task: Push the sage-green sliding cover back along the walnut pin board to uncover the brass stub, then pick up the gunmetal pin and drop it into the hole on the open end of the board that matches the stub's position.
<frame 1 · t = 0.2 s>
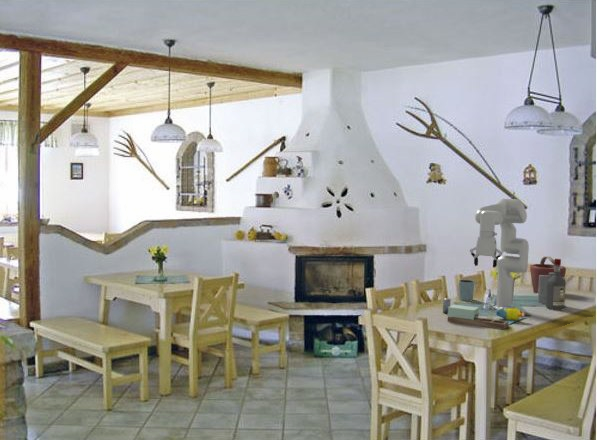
hand: (485, 266, 364), 30 cm above the table, tool pointing down, fingers open, 9 cm apart
liquor: (555, 309, 410), on the table
pin board: (477, 323, 363), on the table
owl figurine: (510, 321, 373), on the table
cover: (463, 312, 367), point 5 cm above the table, slide at 0.0 cm
pin: (446, 313, 389), on the table
drinking glass: (466, 299, 433), on the table
hip flask: (550, 305, 423), on the table
bucket: (546, 293, 464), on the table
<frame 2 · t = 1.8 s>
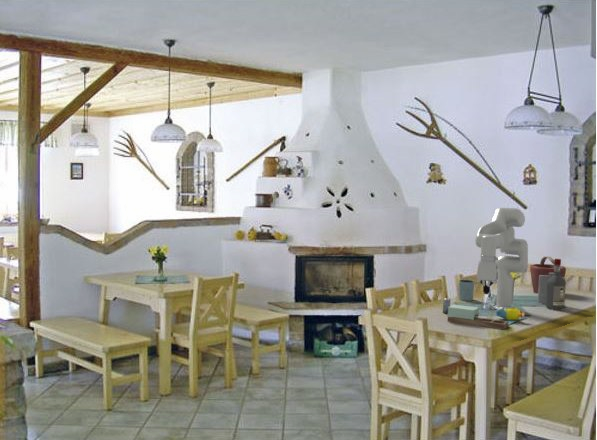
hand: (486, 293, 359), 17 cm above the table, tool pointing down, fingers closed
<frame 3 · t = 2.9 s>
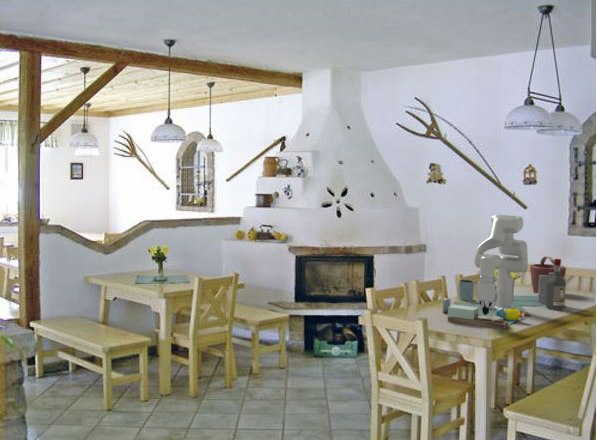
hand: (485, 314, 360), 6 cm above the table, tool pointing down, fingers closed
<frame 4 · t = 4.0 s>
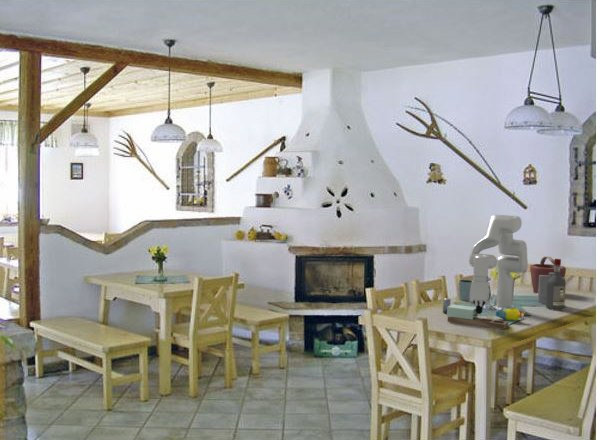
hand: (479, 313, 362), 6 cm above the table, tool pointing down, fingers closed
cover: (462, 311, 367), point 5 cm above the table, slide at 0.5 cm, touching gripper
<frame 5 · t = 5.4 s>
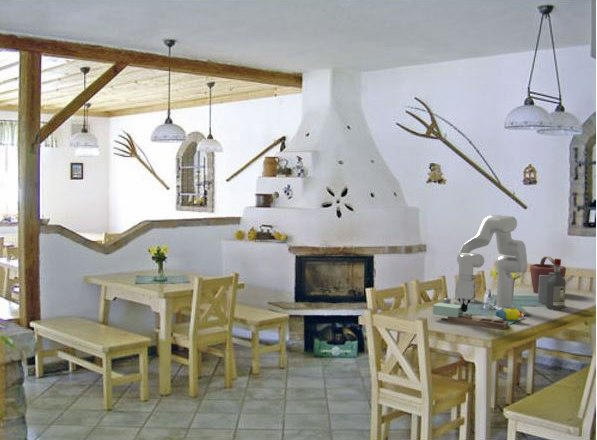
hand: (464, 311, 366), 6 cm above the table, tool pointing down, fingers closed
cover: (448, 310, 371), point 5 cm above the table, slide at 8.5 cm, touching gripper
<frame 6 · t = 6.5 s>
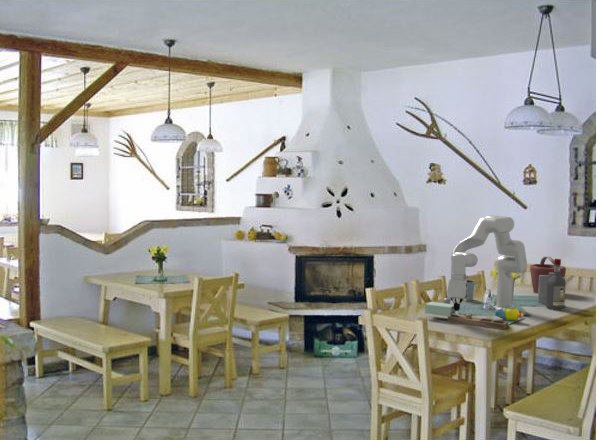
hand: (456, 310, 368), 6 cm above the table, tool pointing down, fingers closed
cover: (440, 309, 373), point 5 cm above the table, slide at 12.7 cm, touching gripper
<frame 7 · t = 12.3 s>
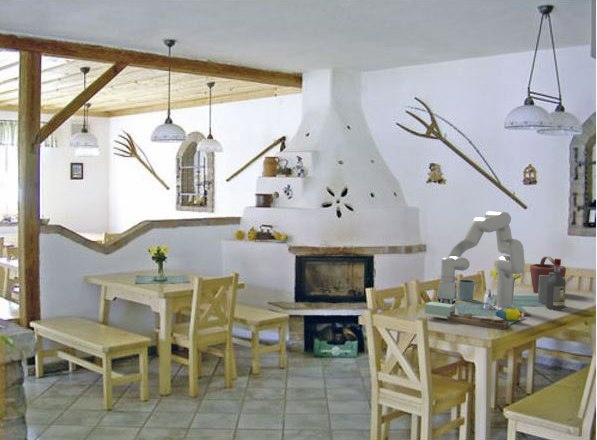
hand: (446, 310, 389), 1 cm above the table, tool pointing down, fingers closed on pin, 4 cm apart
cover: (440, 309, 373), point 5 cm above the table, slide at 12.9 cm
pin: (446, 313, 389), on the table, touching gripper
when the fingers open (4 cm above the table, at t = 19.8 s): pin drops 2 cm, resting in pin board.
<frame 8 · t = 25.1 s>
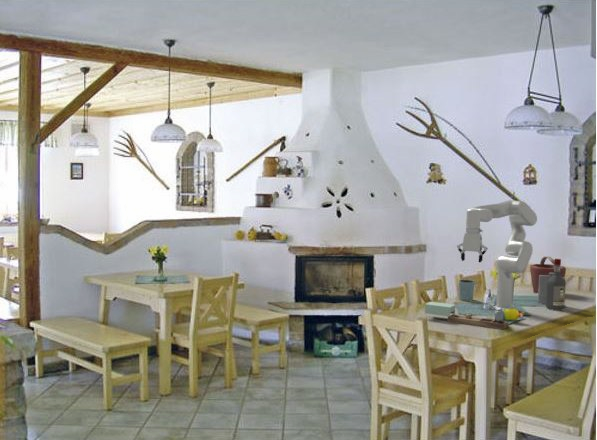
hand: (471, 261, 384), 30 cm above the table, tool pointing down, fingers open, 9 cm apart
pin: (498, 326, 357), resting in pin board
at the end: cover slide at 12.9 cm; pin 0.0 cm from the target spot on the pin board, point 0.0 cm above the pin board's base; pin tilted 0° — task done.
